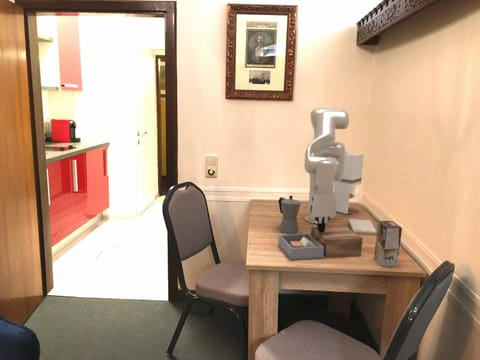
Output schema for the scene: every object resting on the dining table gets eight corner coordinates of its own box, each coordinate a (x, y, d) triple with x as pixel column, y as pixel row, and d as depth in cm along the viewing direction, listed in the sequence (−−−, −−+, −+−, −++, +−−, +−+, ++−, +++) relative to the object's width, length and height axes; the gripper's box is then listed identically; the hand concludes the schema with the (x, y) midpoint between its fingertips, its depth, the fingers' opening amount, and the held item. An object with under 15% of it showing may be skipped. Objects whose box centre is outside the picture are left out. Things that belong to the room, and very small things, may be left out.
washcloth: (369, 224, 205) (370, 218, 205) (377, 236, 188) (378, 230, 187) (347, 222, 207) (347, 217, 206) (352, 234, 189) (352, 228, 189)
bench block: (310, 244, 173) (311, 227, 172) (342, 242, 177) (344, 225, 175) (325, 258, 158) (326, 239, 156) (360, 256, 161) (362, 237, 160)
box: (278, 245, 170) (278, 235, 169) (308, 244, 173) (308, 233, 172) (290, 260, 155) (291, 248, 154) (323, 258, 158) (324, 247, 157)
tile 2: (312, 241, 166) (308, 246, 167) (303, 236, 165) (300, 241, 165) (316, 247, 162) (313, 251, 162) (307, 241, 160) (304, 246, 160)
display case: (348, 217, 214) (354, 155, 207) (331, 213, 221) (336, 153, 214) (358, 213, 222) (364, 153, 215) (341, 209, 229) (346, 151, 222)
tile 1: (301, 241, 167) (301, 246, 168) (290, 241, 167) (290, 246, 167) (304, 245, 162) (303, 251, 163) (292, 245, 162) (292, 251, 162)
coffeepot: (305, 233, 187) (307, 197, 183) (290, 236, 182) (292, 199, 178) (284, 224, 199) (286, 190, 196) (270, 227, 194) (272, 192, 190)
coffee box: (398, 266, 152) (403, 227, 149) (382, 266, 152) (387, 227, 148) (388, 257, 161) (392, 220, 158) (373, 257, 161) (377, 220, 157)
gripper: (310, 192, 155) (307, 235, 159) (344, 191, 158) (341, 233, 162) (303, 187, 162) (301, 229, 166) (336, 187, 165) (333, 227, 169)
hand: (320, 231), depth 164 cm, fingers closed
